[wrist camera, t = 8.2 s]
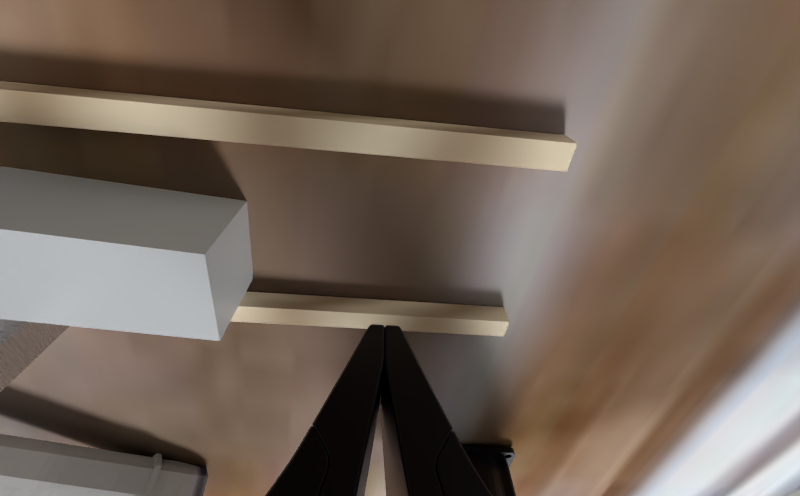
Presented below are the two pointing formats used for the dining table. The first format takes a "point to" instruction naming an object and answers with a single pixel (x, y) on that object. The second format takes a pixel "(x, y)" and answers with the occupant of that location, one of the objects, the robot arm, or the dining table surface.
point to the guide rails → (309, 133)
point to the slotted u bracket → (23, 345)
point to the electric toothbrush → (91, 471)
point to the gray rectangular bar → (120, 255)
